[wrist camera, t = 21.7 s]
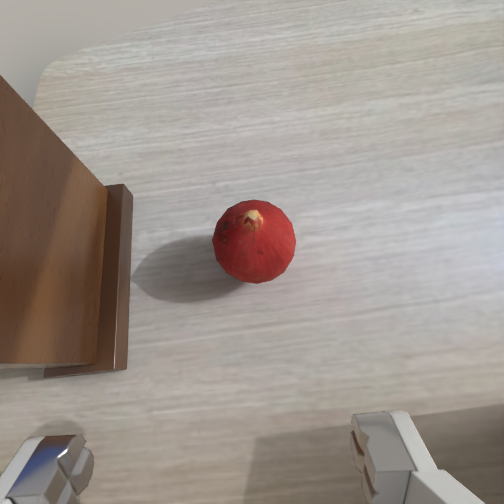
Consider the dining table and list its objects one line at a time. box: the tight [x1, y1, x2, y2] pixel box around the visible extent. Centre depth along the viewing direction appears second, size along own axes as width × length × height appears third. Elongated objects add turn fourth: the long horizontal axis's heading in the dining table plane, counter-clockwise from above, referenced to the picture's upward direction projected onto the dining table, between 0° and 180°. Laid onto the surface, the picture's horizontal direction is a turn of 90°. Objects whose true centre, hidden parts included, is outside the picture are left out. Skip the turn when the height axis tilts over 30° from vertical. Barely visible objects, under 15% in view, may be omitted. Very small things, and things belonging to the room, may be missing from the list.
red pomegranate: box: [212, 200, 296, 284], centre depth 22 cm, size 6×6×8 cm
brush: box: [0, 75, 133, 378], centre depth 18 cm, size 5×15×17 cm, turn 6°
